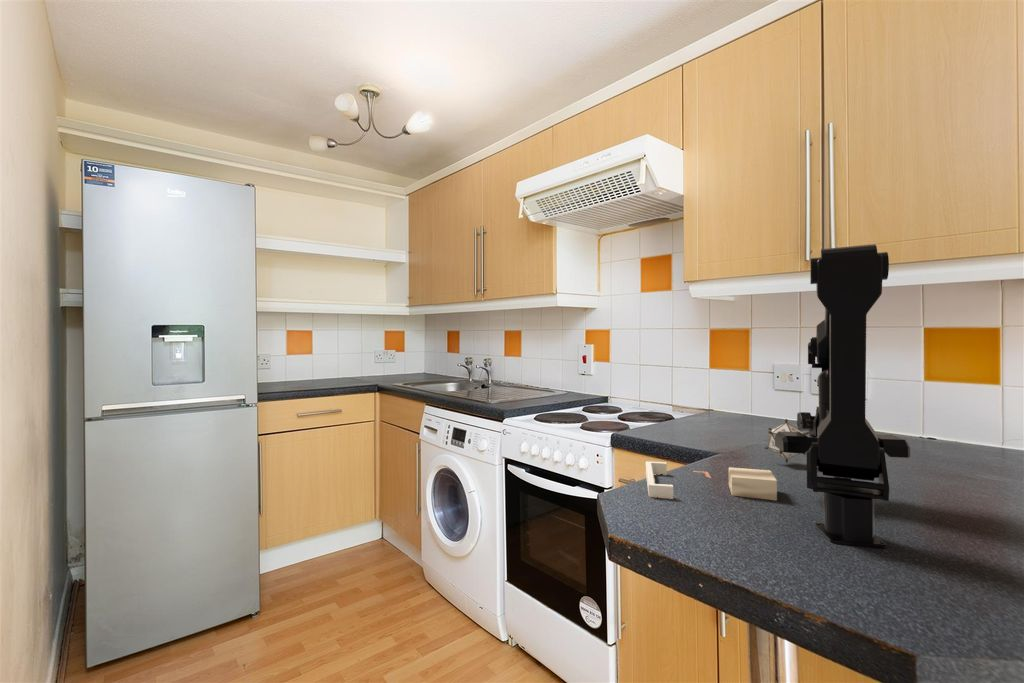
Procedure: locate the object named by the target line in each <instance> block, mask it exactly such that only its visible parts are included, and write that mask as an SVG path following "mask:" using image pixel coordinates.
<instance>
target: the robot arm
mask: <svg viewBox="0 0 1024 683" xmlns="http://www.w3.org/2000/svg"><path fill="white" fill-rule="evenodd" d="M889 261H890V258H889V252H888V251H884V252H882V251H881V252H878V246H877V244H876V243H875V244H873V243H872V244H865V245H862V244H861V245H854V246H851V245H850V246H842V247H840V246H839V247H830V248H829V247H828V248H821V249H820V257H812V258H810V260H809V262H810V264H809V266H810V269H809V272H810V276H809V277H810V278H809V279H810V280H809V282H810V285H816V287H815V288H816V291H815V292H816V296H817V299H818V300H819V301H820V302H821V304H822V305H823V307H824V320H822V321H820V322H819V323H818V324H817V325H816V328H815V329H816V332H815V333H816V334H815V335H816V336H813V337H811V338H810V341H809V342H808V343H807V364H808V365H811V368H812V369H821V372H820V373H819V374H818V376H817V379H816V380H817V381H816V384H817V387H818V406H816V409H815V415H812V414H811V412H805V411H803V412H801V411H799V412H797V413H796V417H797V418H796V425H797V426H796V427H797V429H798V430H800V431H802V432H804V431H805V432H809V434H808V435H804V434H802V433H800V432H785V431H779V432H778V433H777V434H776V435H775V446H776V447H777V448H779V449H780V450H781V451H783V452H786V453H800V454H803V453H806V488H807V489H809V490H812V491H813V493H823V522H822V523H820V522H815V523H814V528H815V529H816V530H817V531H818V532H819V533H820V534H821V535H822V536H823V537H824V538H825V539H826V540H827V541H828V542H829V543H830V544H835V545H845V546H858V547H868V548H869V547H870V548H872V547H873V548H880V549H881V548H884V549H886V548H888V547H887V546H888V544H887V543H886V542H885V541H884V540H883V539H882V538H880V537H879V536H877V535H876V532H875V530H876V529H875V500H881V501H884V502H889V499H890V484H889V476H888V475H889V474H888V468H887V462H886V456H887V457H889V458H903V459H906V458H907V459H908V458H911V446H910V444H909V442H908V441H907V440H906V439H905V438H901V437H898V436H896V435H892V434H878V433H876V431H875V429H874V428H873V427H872V425H871V423H870V422H869V421H868V419H867V418H866V399H867V398H866V392H867V389H866V384H867V378H866V377H867V373H866V372H867V315H868V313H869V312H870V310H871V309H872V308H873V306H874V305H875V304H876V302H877V301H878V300H879V298H880V297H881V296H882V294H883V281H886V280H888V277H889V268H890V262H889ZM818 471H819V472H820V473H821V475H822V476H818ZM875 479H878V480H877V481H878V482H874V481H875Z"/></svg>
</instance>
